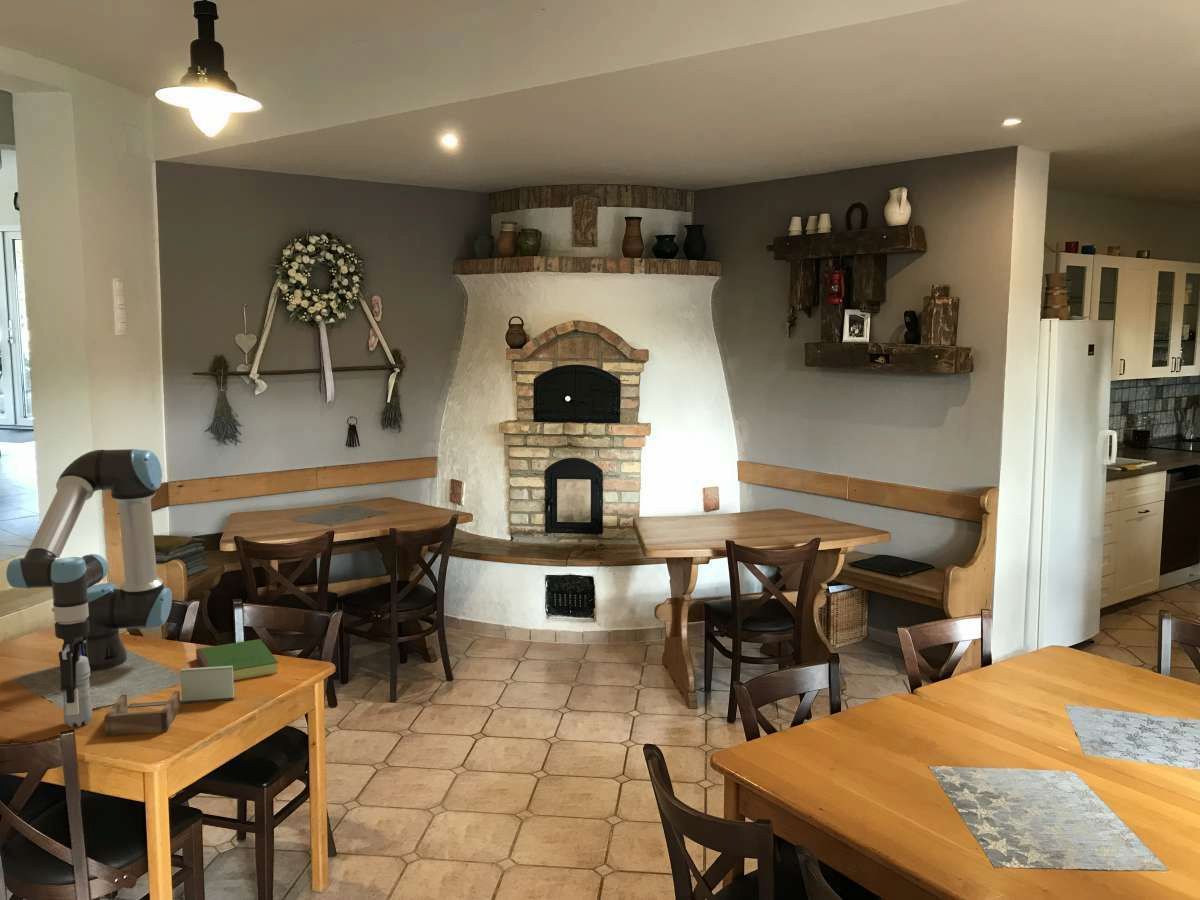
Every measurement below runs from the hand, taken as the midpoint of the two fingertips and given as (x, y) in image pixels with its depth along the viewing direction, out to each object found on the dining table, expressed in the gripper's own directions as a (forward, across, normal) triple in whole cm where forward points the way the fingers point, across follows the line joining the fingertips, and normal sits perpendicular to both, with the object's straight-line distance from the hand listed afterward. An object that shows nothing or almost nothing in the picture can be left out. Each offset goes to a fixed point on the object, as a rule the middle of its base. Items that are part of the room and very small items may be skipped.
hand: (77, 708), depth 237 cm
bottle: (+4, 0, 0) cm, 4 cm away
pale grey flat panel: (+4, -10, +29) cm, 31 cm away
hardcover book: (+5, -36, +32) cm, 48 cm away
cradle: (+4, -1, +22) cm, 23 cm away
